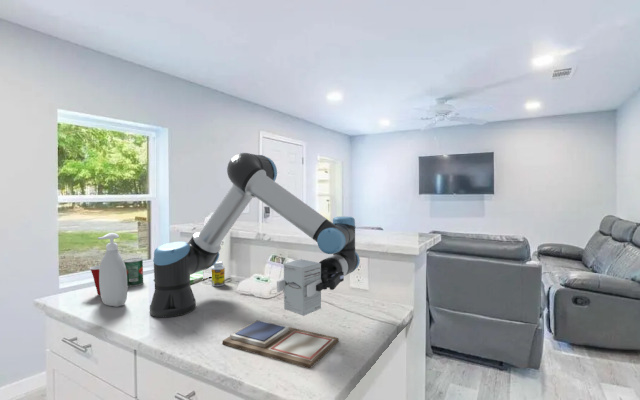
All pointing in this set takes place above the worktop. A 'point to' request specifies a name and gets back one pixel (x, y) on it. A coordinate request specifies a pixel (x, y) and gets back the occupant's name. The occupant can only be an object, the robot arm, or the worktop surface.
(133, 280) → the canned tomato
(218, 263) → the supplement bottle
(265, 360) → the worktop surface
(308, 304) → the supplement box
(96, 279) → the plastic cup
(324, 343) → the stamping board
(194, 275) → the dish towel
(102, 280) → the soap bottle
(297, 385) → the worktop surface
